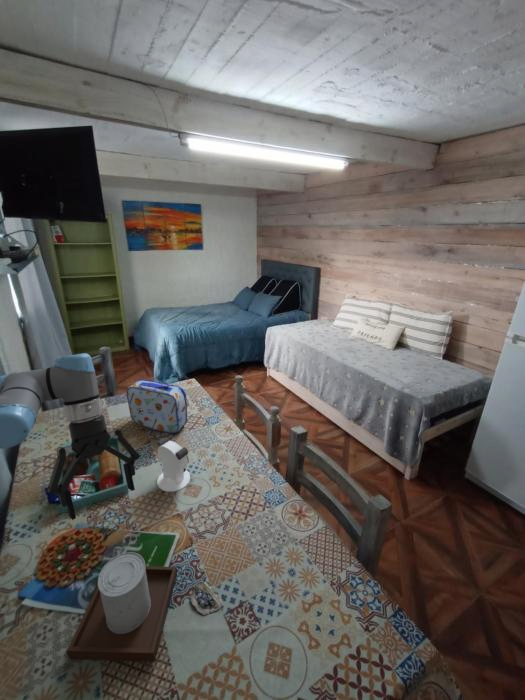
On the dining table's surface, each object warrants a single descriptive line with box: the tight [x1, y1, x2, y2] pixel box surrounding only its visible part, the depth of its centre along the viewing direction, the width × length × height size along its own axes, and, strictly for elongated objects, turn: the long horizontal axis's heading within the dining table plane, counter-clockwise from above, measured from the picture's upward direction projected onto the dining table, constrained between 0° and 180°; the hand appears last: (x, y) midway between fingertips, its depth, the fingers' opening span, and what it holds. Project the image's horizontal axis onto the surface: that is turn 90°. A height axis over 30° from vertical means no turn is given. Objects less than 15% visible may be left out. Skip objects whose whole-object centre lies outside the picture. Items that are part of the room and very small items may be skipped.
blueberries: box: [189, 581, 223, 616], centre depth 76 cm, size 7×8×2 cm
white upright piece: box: [156, 436, 191, 493], centre depth 110 cm, size 12×11×15 cm
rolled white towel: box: [97, 551, 151, 634], centre depth 71 cm, size 10×10×12 cm
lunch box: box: [126, 378, 190, 434], centre depth 139 cm, size 28×10×22 cm, turn 73°
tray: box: [66, 565, 178, 663], centre depth 73 cm, size 18×18×3 cm
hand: (103, 502), depth 77 cm, fingers open, 13 cm apart
